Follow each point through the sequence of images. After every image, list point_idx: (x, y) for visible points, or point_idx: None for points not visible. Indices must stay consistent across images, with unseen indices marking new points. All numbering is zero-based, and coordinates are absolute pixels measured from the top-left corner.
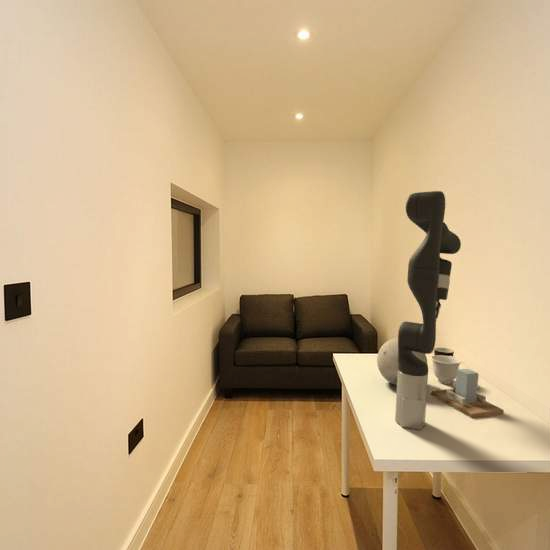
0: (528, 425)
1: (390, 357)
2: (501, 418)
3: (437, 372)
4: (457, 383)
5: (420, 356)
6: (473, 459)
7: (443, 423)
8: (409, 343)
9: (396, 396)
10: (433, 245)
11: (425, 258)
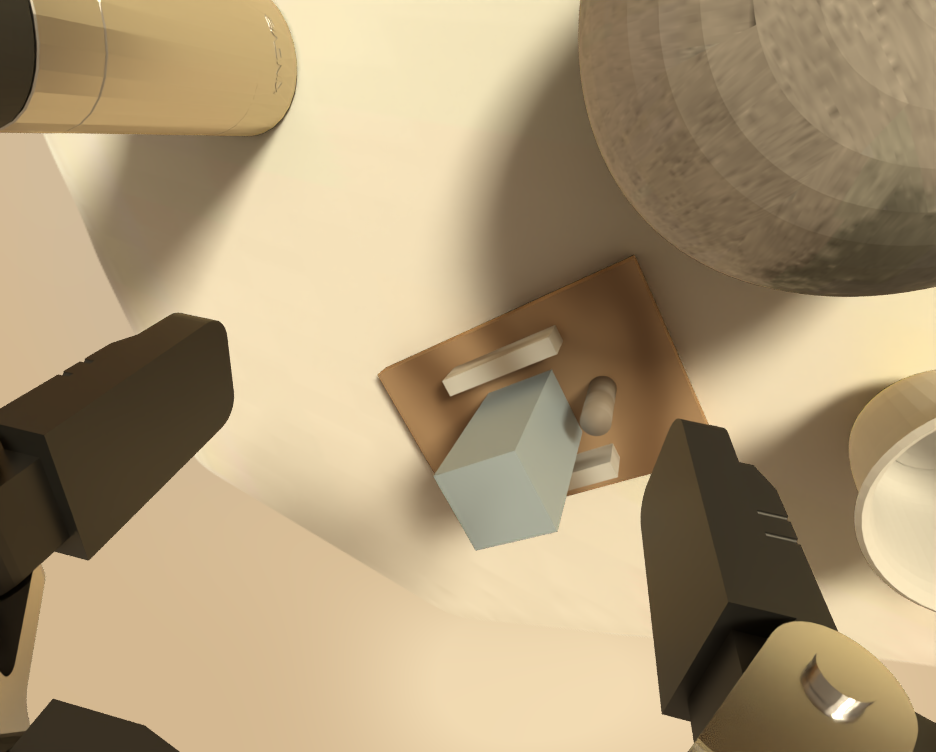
0: (396, 543)
1: None
2: (424, 484)
3: (916, 386)
4: (522, 410)
5: (660, 199)
6: (98, 258)
7: (291, 228)
8: None
9: None
10: None
11: None
